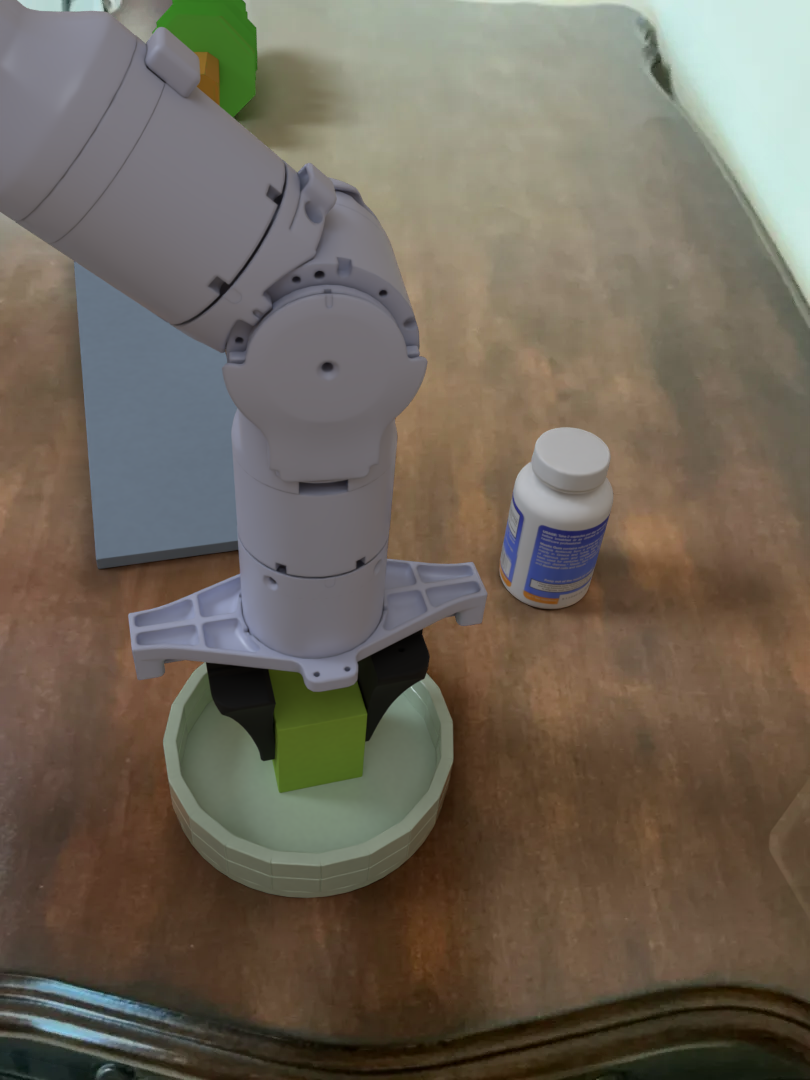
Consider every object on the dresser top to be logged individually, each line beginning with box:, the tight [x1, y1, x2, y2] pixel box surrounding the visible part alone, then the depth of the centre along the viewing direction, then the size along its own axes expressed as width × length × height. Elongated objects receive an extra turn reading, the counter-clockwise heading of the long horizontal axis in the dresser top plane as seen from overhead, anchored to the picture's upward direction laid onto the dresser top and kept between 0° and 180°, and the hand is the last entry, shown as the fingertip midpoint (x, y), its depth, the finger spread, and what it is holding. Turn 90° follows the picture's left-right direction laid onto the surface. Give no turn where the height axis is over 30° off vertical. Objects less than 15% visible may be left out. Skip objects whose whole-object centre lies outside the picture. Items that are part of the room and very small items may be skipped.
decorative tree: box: [151, 0, 259, 118], centre depth 104 cm, size 11×12×30 cm
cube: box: [269, 669, 367, 793], centre depth 45 cm, size 4×4×5 cm
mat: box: [73, 261, 239, 570], centre depth 68 cm, size 36×10×1 cm, turn 16°
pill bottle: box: [498, 426, 614, 610], centre depth 54 cm, size 5×5×10 cm
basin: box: [162, 662, 454, 899], centre depth 46 cm, size 13×13×3 cm
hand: (311, 733), depth 46 cm, fingers closed on cube, 4 cm apart
